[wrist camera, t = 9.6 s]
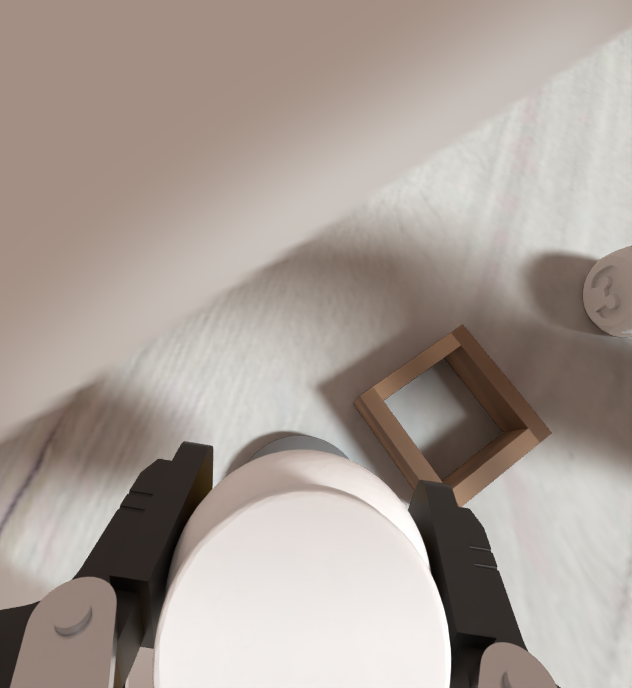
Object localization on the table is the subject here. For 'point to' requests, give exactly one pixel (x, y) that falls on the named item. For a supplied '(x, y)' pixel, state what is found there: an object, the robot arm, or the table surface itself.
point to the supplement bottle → (301, 585)
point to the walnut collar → (489, 390)
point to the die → (611, 293)
